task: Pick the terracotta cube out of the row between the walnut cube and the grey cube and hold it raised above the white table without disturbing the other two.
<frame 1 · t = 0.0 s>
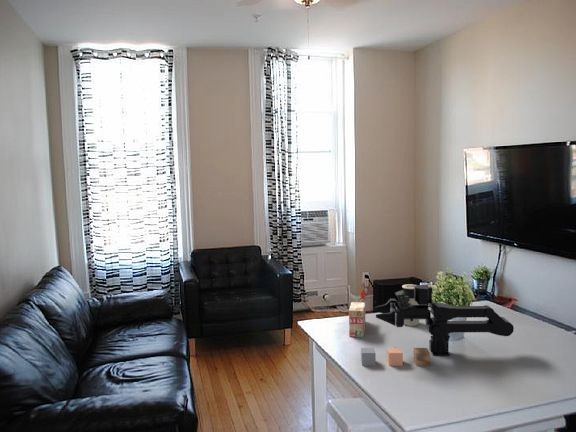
hand: (374, 312, 189), 17 cm above the table, tool horizontal, fingers open, 9 cm apart
grey cube: (368, 363, 181), on the table
stack of blocks: (357, 329, 219), on the table
terracotta cube: (394, 363, 181), on the table
travel mug: (410, 324, 224), on the table
walnut cube: (421, 363, 180), on the table
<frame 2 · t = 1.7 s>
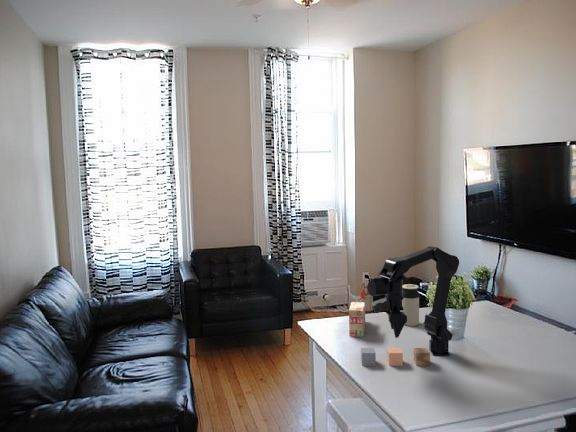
hand: (394, 333, 180), 12 cm above the table, tool pointing down, fingers open, 9 cm apart
nothing on the table moved.
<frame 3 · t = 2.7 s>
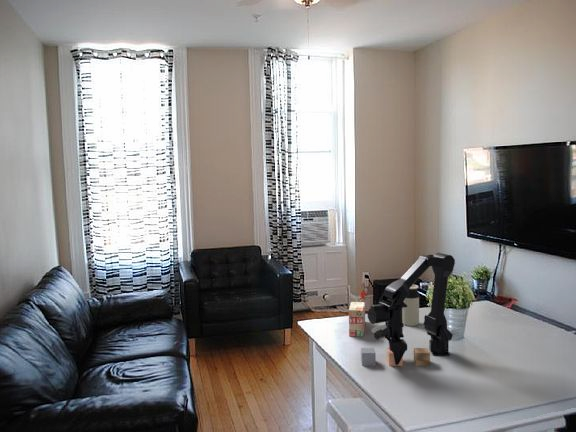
hand: (394, 359, 181), 1 cm above the table, tool pointing down, fingers open, 9 cm apart
nothing on the table moved.
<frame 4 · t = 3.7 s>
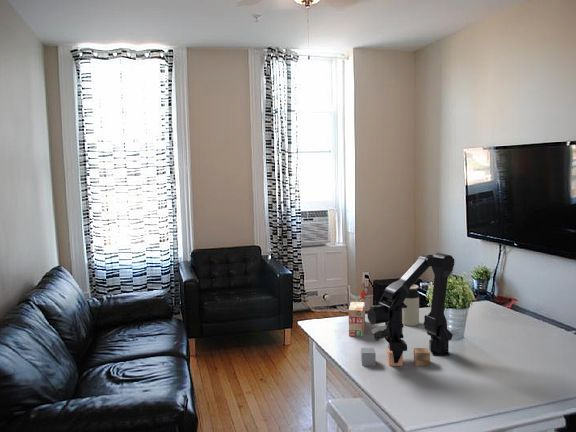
hand: (394, 360, 181), 1 cm above the table, tool pointing down, fingers closed on terracotta cube, 5 cm apart
terracotta cube: (394, 362, 181), on the table, touching gripper
everything else where it was.
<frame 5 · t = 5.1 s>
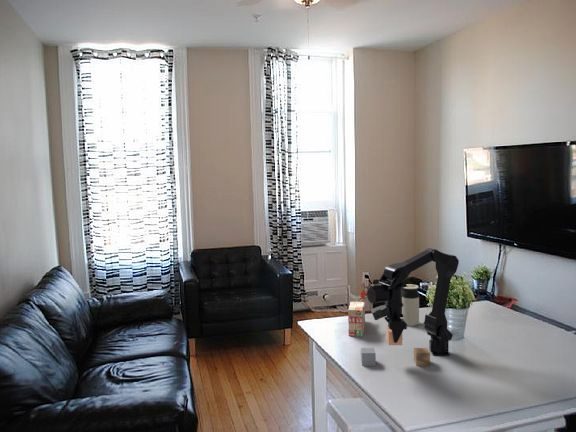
hand: (394, 339, 180), 9 cm above the table, tool pointing down, fingers closed on terracotta cube, 5 cm apart
terracotta cube: (394, 342, 180), point 8 cm above the table, touching gripper
everything else where it was.
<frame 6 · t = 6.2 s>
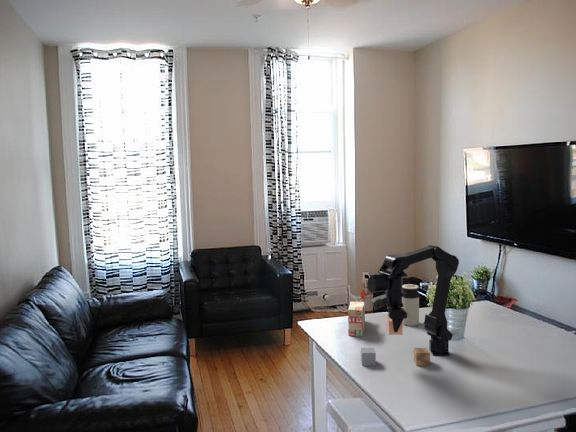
hand: (394, 329, 179), 13 cm above the table, tool pointing down, fingers closed on terracotta cube, 5 cm apart
terracotta cube: (394, 332, 180), point 12 cm above the table, touching gripper
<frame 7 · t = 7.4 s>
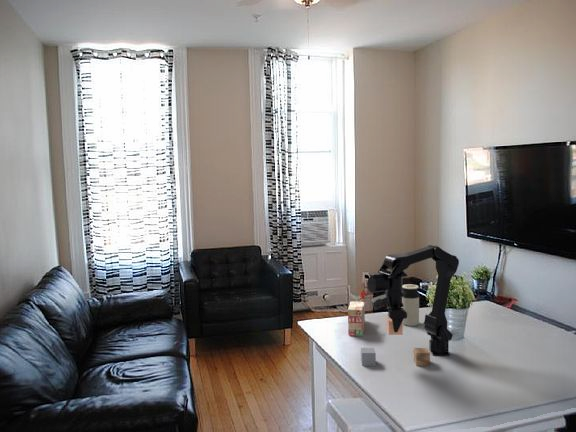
hand: (394, 329, 179), 13 cm above the table, tool pointing down, fingers closed on terracotta cube, 5 cm apart
terracotta cube: (394, 332, 180), point 12 cm above the table, touching gripper
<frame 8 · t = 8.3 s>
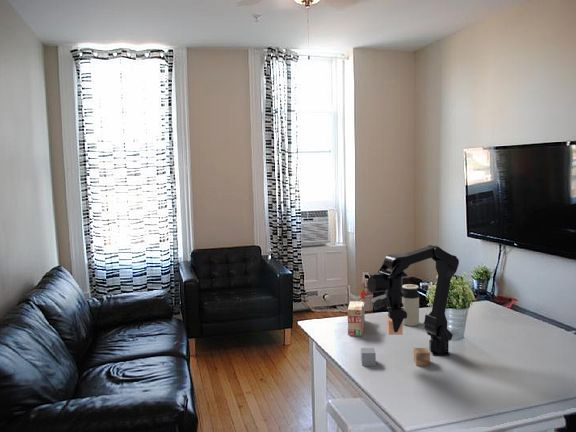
hand: (394, 329, 179), 13 cm above the table, tool pointing down, fingers closed on terracotta cube, 5 cm apart
terracotta cube: (394, 332, 180), point 12 cm above the table, touching gripper
at the end: the gripper is holding terracotta cube; terracotta cube point 11.9 cm above the table; walnut cube moved 0.1 cm from its start; grey cube moved 0.1 cm from its start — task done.
